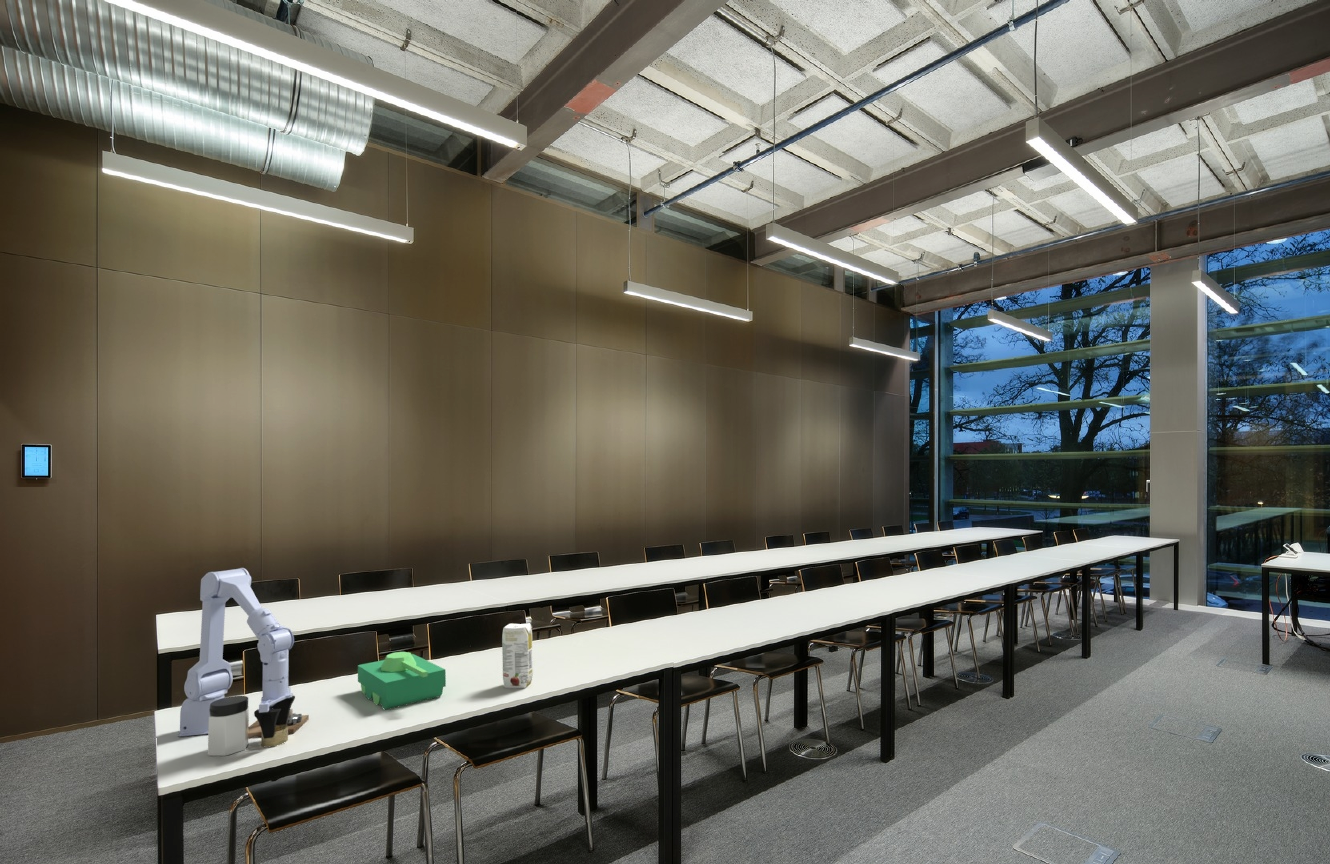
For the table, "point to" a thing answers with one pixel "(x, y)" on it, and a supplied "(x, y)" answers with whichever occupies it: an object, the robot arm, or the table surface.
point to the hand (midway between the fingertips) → (275, 732)
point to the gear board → (257, 732)
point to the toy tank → (401, 680)
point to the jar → (228, 726)
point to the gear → (294, 719)
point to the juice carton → (517, 655)
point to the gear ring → (276, 736)
